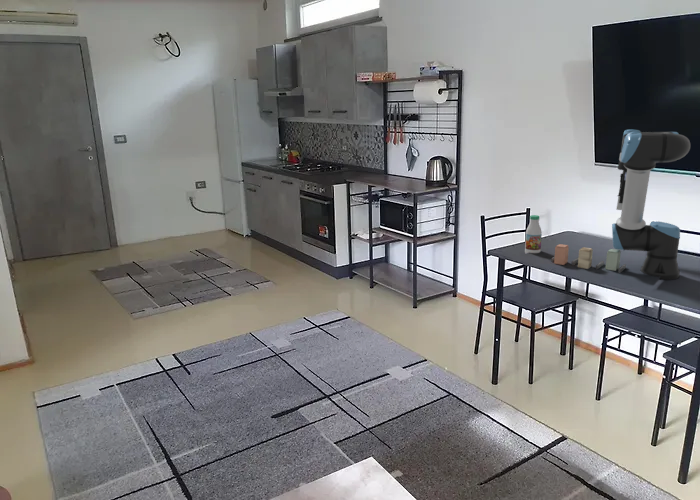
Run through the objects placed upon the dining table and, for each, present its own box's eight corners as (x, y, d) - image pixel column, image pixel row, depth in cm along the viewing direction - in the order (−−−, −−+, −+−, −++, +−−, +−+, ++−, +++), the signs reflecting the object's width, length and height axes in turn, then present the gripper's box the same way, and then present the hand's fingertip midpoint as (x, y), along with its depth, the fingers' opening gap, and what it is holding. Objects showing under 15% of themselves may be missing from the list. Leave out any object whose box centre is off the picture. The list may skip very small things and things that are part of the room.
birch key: (581, 264, 255) (582, 247, 253) (591, 266, 252) (592, 248, 250) (577, 267, 251) (579, 249, 249) (587, 268, 248) (589, 250, 246)
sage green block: (608, 266, 251) (610, 248, 249) (619, 268, 248) (621, 250, 246) (605, 269, 247) (607, 251, 245) (615, 270, 244) (617, 252, 242)
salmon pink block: (558, 261, 262) (559, 243, 260) (567, 262, 259) (568, 245, 257) (554, 263, 258) (555, 246, 256) (563, 265, 255) (564, 247, 253)
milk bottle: (521, 252, 283) (523, 215, 278) (534, 251, 285) (536, 213, 280) (530, 256, 276) (532, 217, 271) (543, 254, 278) (545, 216, 273)
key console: (558, 259, 268) (558, 253, 268) (625, 270, 249) (626, 264, 248) (550, 264, 261) (550, 258, 260) (619, 275, 241) (620, 269, 241)
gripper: (637, 162, 258) (628, 211, 262) (634, 163, 270) (626, 210, 274) (619, 160, 261) (611, 209, 264) (617, 162, 273) (610, 208, 276)
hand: (619, 209), depth 269 cm, fingers closed
